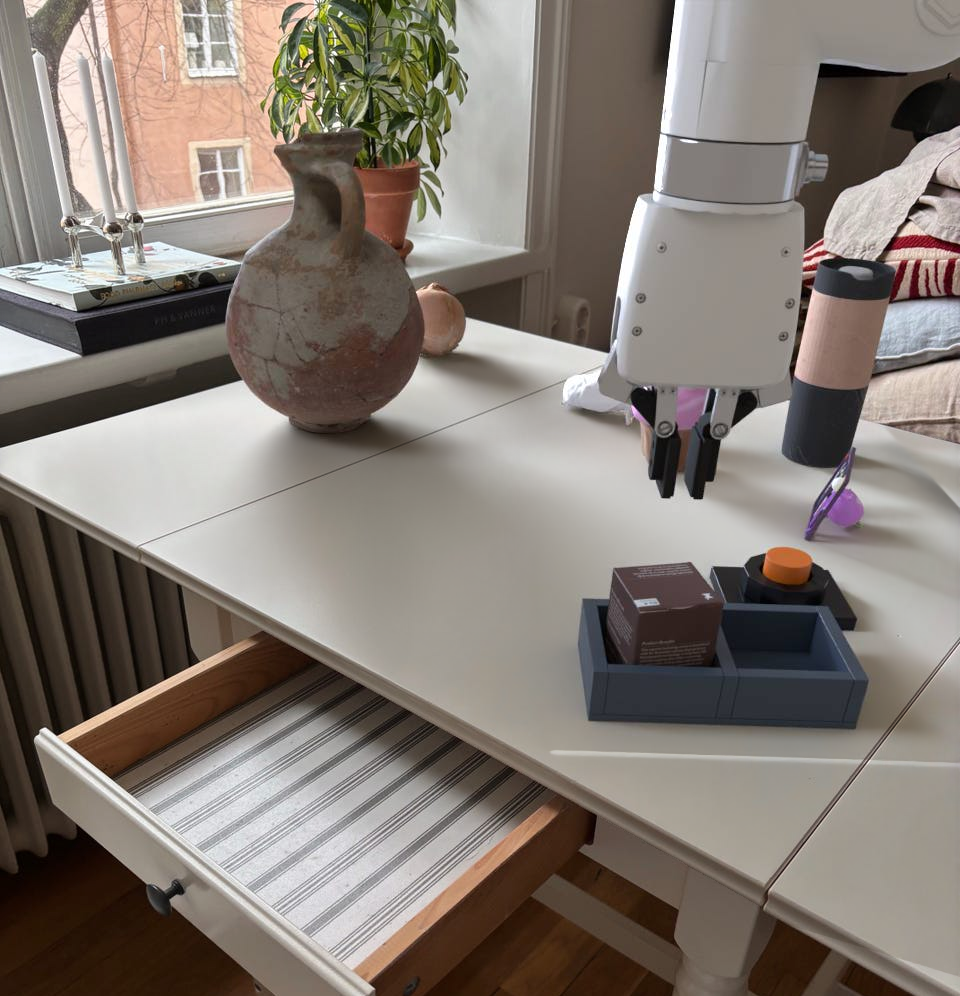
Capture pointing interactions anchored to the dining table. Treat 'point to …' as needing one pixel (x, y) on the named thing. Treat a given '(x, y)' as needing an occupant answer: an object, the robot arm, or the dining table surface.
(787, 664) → the holder
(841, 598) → the push button base
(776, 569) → the button
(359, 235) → the jug
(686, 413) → the cupcake
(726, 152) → the robot arm
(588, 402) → the bird figurine
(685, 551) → the dining table surface
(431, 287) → the onion
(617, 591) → the box
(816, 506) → the purple framed ornament
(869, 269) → the travel mug
